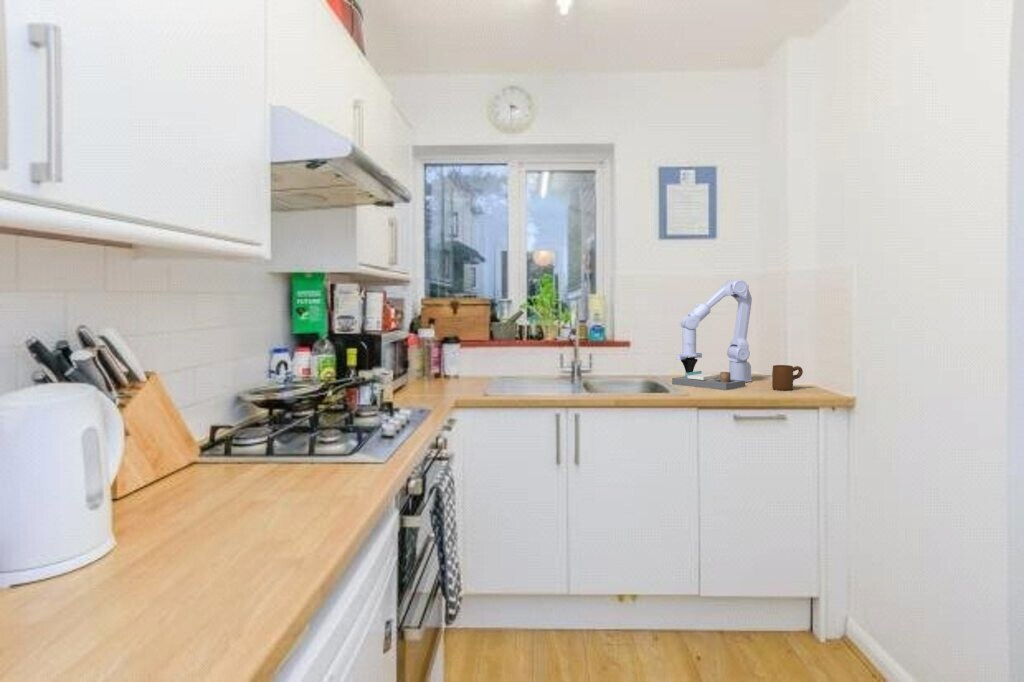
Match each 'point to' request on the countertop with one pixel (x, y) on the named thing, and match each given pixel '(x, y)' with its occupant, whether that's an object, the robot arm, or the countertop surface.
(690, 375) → the lid
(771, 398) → the countertop surface
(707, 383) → the housing
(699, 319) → the robot arm
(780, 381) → the mug
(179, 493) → the countertop surface
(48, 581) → the countertop surface
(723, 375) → the peg
